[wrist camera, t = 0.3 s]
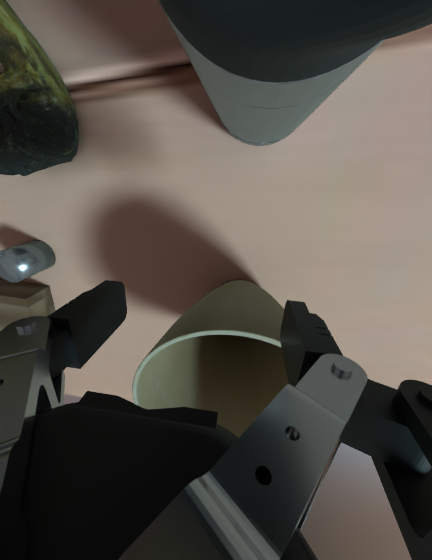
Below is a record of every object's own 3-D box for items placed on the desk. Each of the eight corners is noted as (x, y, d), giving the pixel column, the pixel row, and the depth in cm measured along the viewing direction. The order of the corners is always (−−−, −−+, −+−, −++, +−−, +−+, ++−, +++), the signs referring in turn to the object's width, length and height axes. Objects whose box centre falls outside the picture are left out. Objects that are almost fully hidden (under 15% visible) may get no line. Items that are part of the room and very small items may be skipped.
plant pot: (304, 252, 27) (369, 341, 12) (289, 350, 33) (320, 487, 19) (181, 249, 29) (112, 323, 14) (188, 343, 35) (146, 461, 20)
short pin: (24, 238, 31) (-14, 249, 26) (52, 242, 31) (18, 253, 26) (32, 265, 33) (-3, 279, 28) (58, 269, 32) (27, 284, 28)
